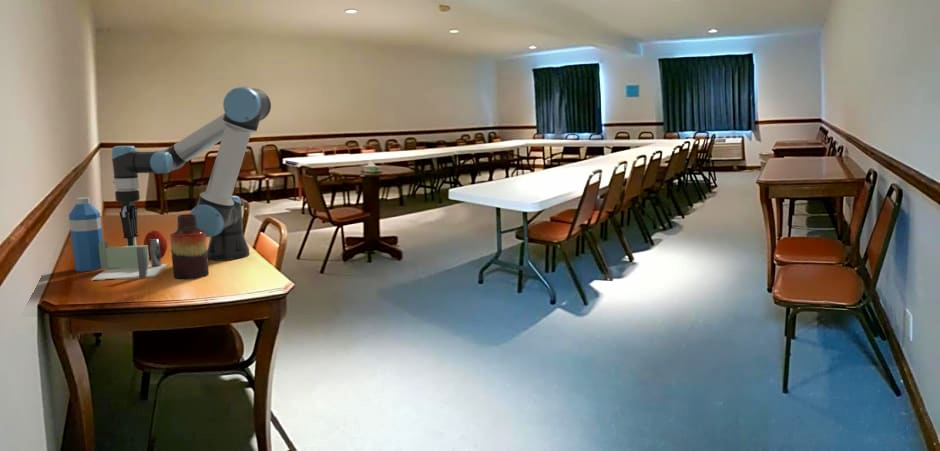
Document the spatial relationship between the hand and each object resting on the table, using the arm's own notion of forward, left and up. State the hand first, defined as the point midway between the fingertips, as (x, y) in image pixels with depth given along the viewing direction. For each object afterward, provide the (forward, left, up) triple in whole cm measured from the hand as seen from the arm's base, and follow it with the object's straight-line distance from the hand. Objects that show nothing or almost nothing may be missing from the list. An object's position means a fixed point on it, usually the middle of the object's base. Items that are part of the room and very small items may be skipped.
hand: (132, 255), depth 234 cm
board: (-3, +13, -4) cm, 14 cm away
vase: (-24, +23, -4) cm, 34 cm away
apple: (-4, -13, -4) cm, 15 cm away
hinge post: (-9, +7, -4) cm, 12 cm away
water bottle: (+14, +2, -4) cm, 14 cm away
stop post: (-9, +21, -4) cm, 23 cm away
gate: (+1, +7, -3) cm, 7 cm away
